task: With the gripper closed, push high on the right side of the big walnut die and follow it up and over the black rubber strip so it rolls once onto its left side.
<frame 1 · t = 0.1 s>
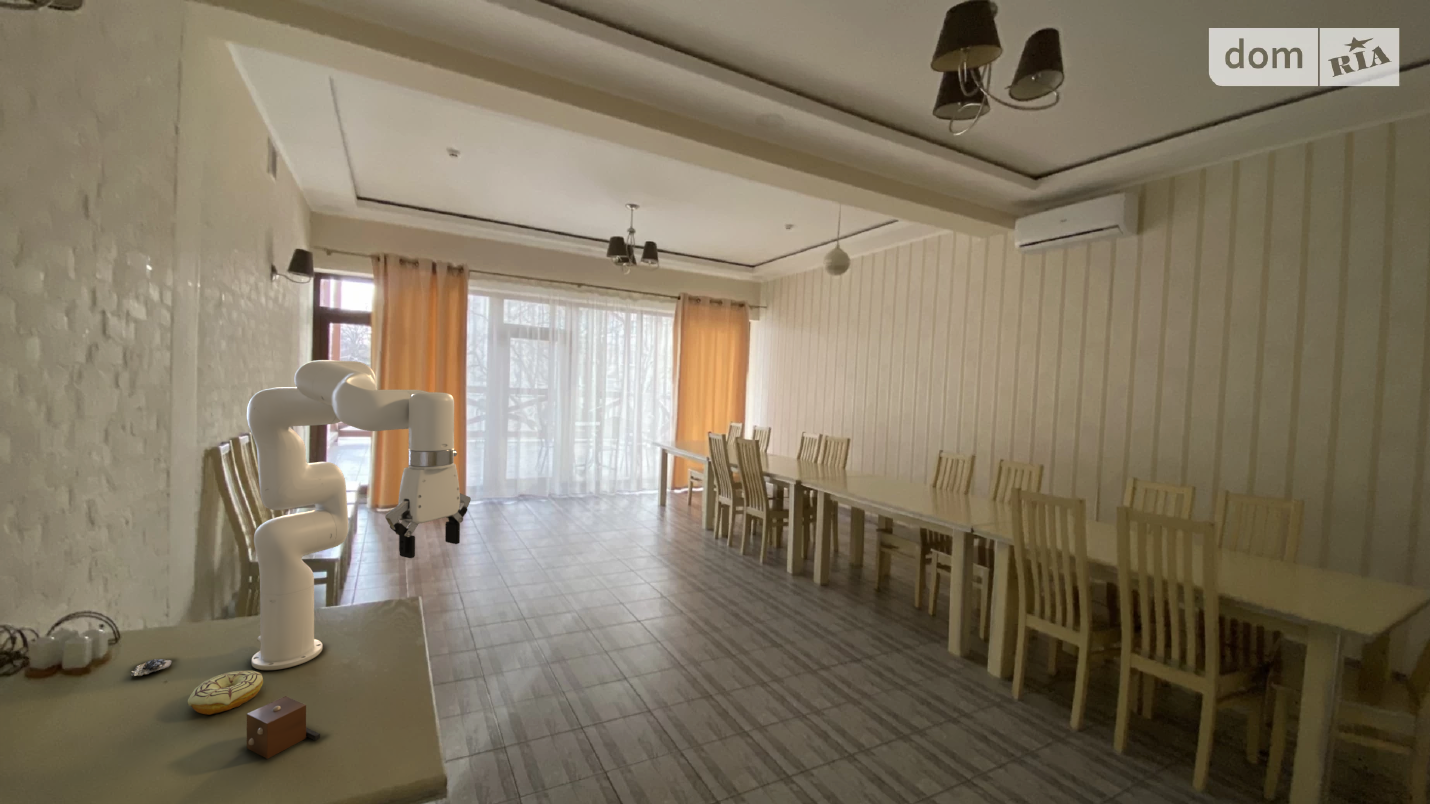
hand: (430, 549, 106), 31 cm above the table, tool pointing down, fingers open, 9 cm apart
decorated donut: (227, 701, 109), on the table
oyster shell: (150, 669, 119), on the table
die: (276, 743, 97), on the table
stop strip: (300, 731, 100), on the table
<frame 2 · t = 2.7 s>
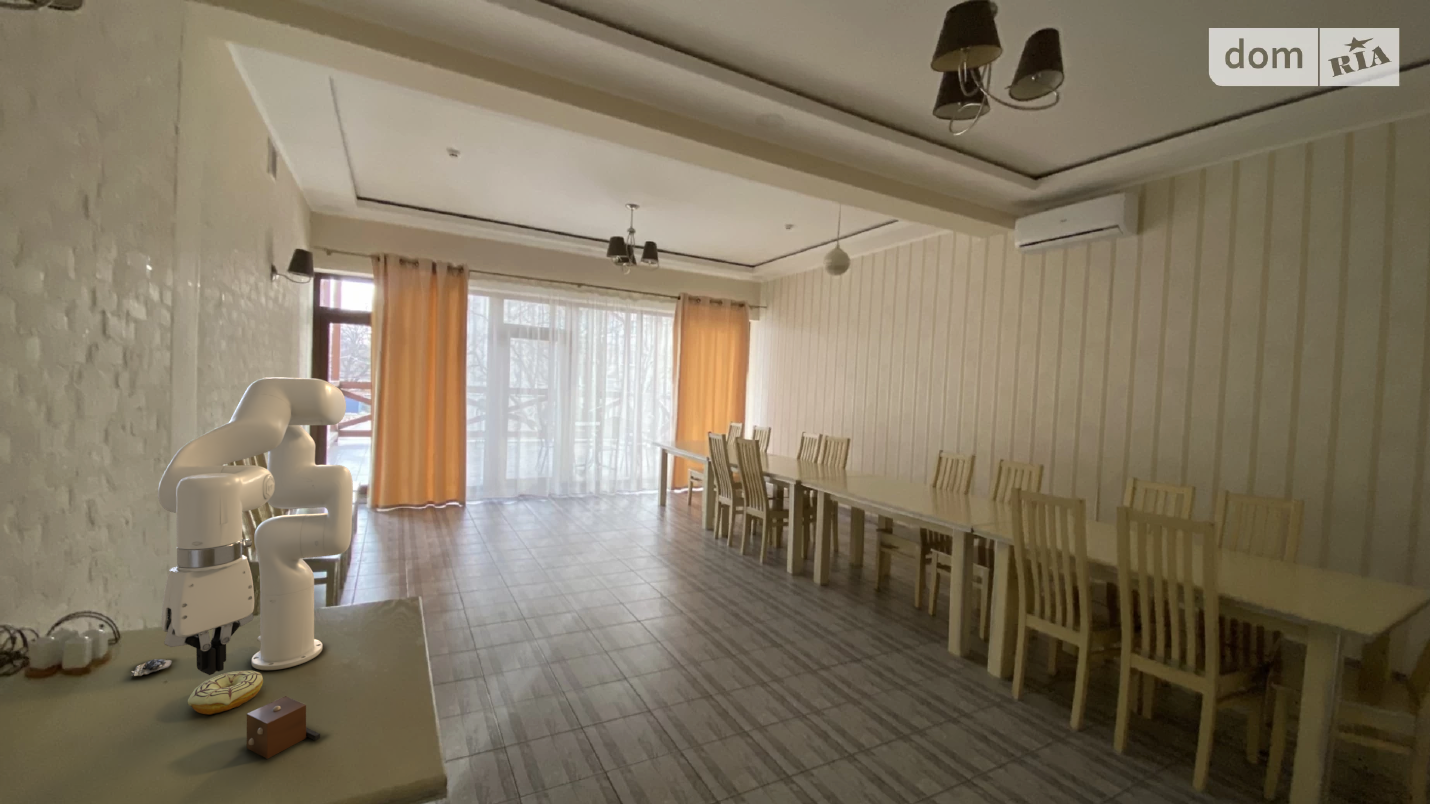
hand: (211, 670, 88), 17 cm above the table, tool pointing down, fingers closed
nothing on the table moved.
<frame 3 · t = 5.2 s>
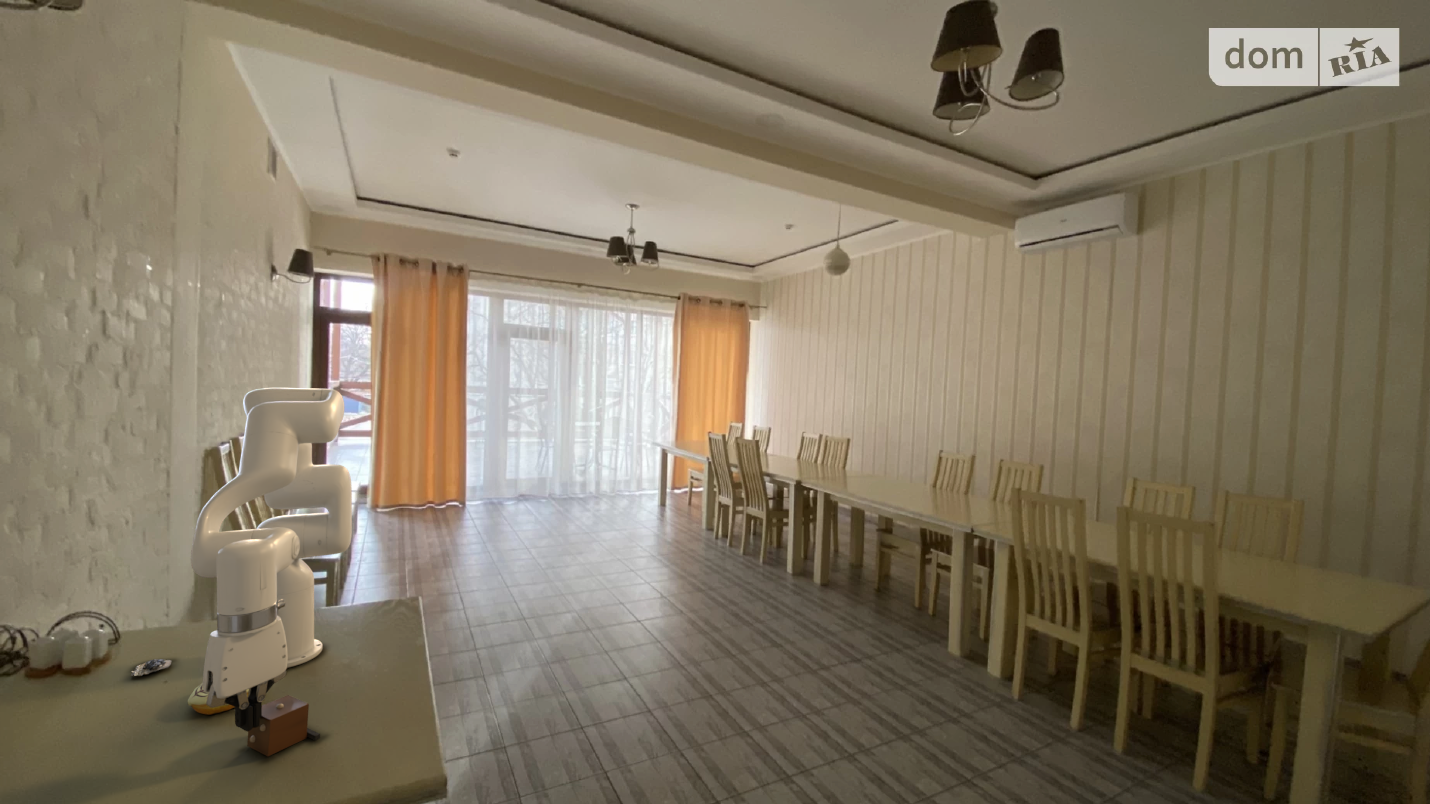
hand: (248, 726, 93), 5 cm above the table, tool pointing down, fingers closed
die: (277, 742, 97), on the table, touching gripper
everything else where it was.
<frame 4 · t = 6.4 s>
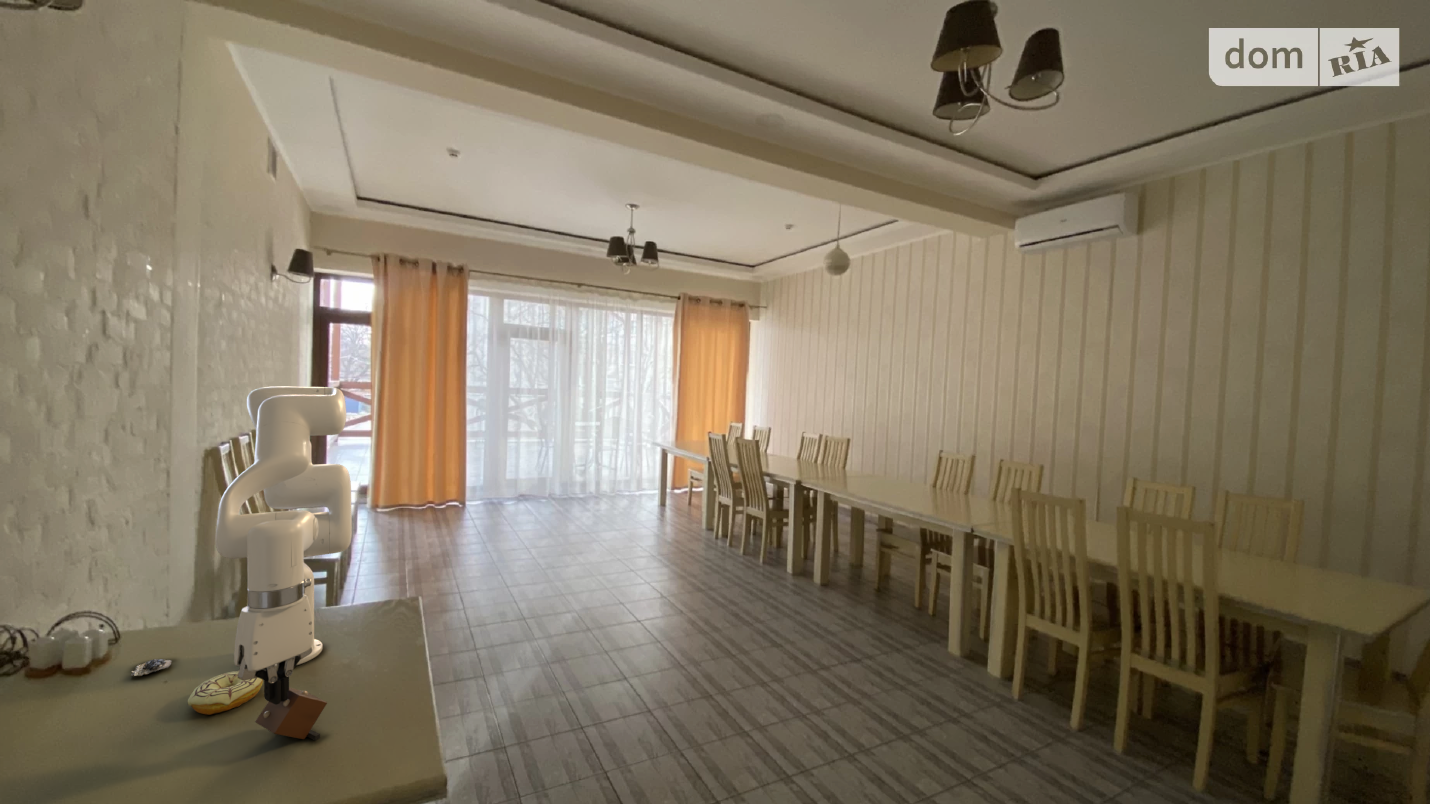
hand: (276, 700, 96), 8 cm above the table, tool pointing down, fingers closed
die: (279, 730, 97), point 2 cm above the table, tilted 39°, touching gripper, stop strip
everything else where it was.
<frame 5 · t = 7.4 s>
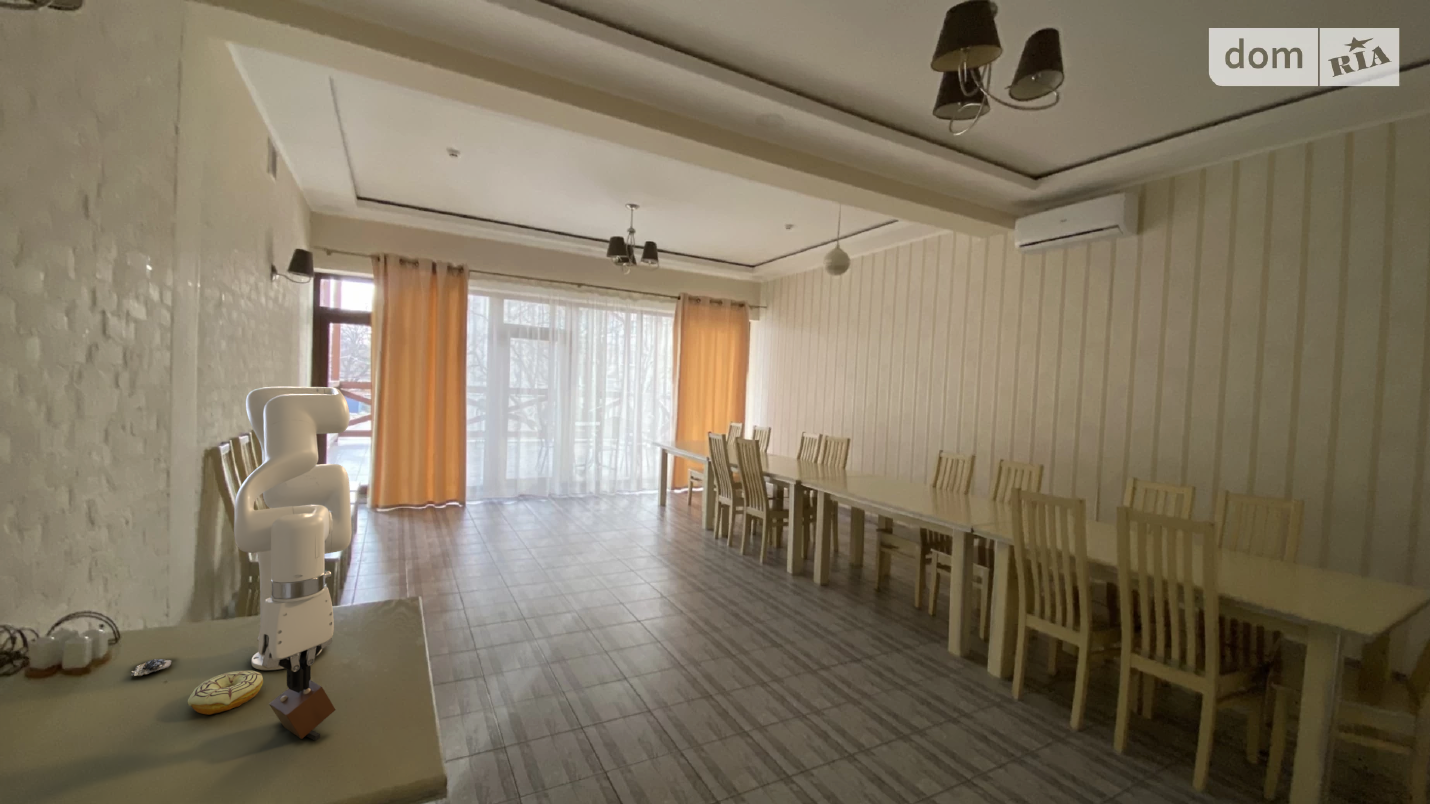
hand: (298, 688, 99), 8 cm above the table, tool pointing down, fingers closed
die: (285, 721, 98), point 3 cm above the table, tilted 67°, touching gripper, stop strip
everything else where it was.
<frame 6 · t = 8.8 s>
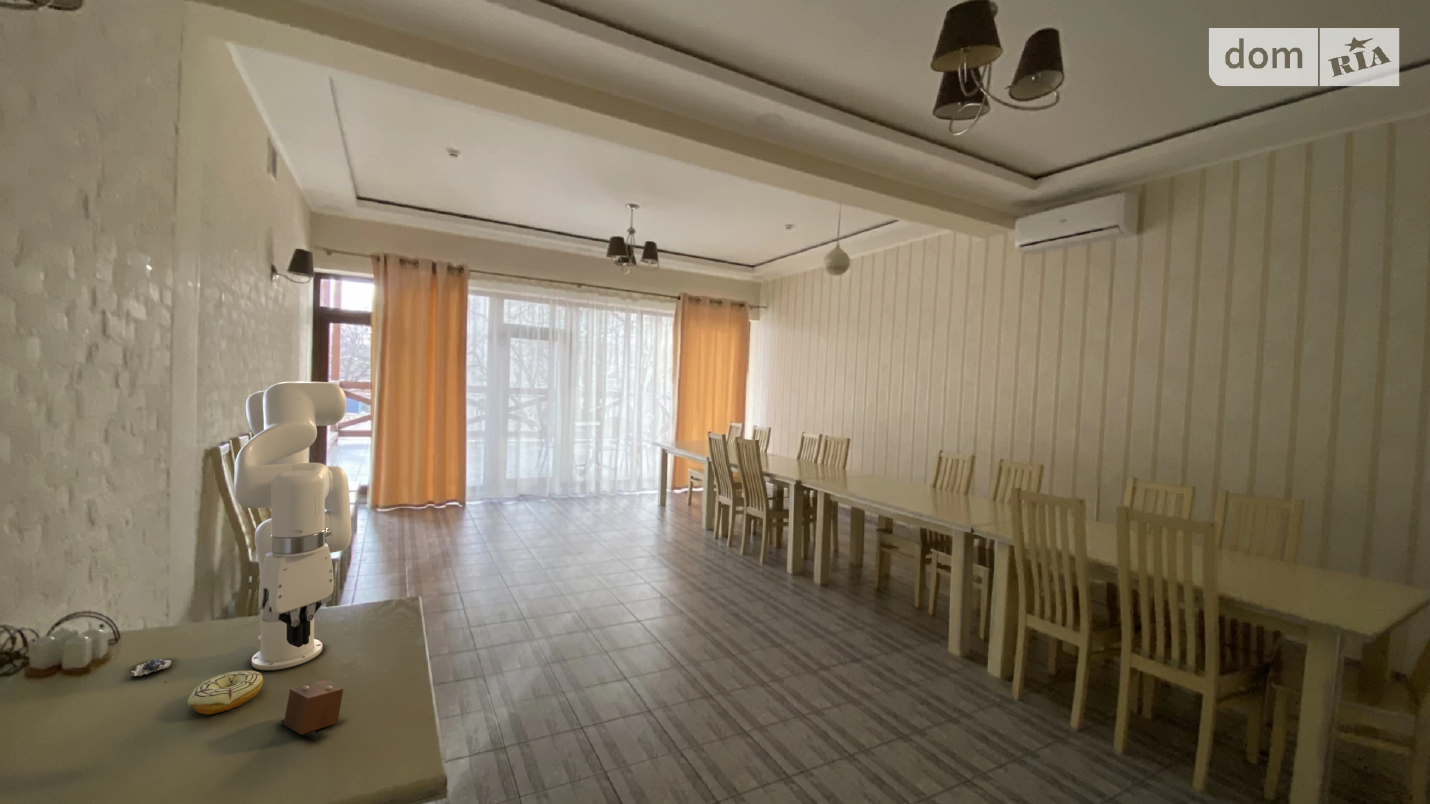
hand: (298, 643, 100), 16 cm above the table, tool pointing down, fingers closed
die: (295, 711, 99), point 4 cm above the table, tilted 101°, touching stop strip
everything else where it was.
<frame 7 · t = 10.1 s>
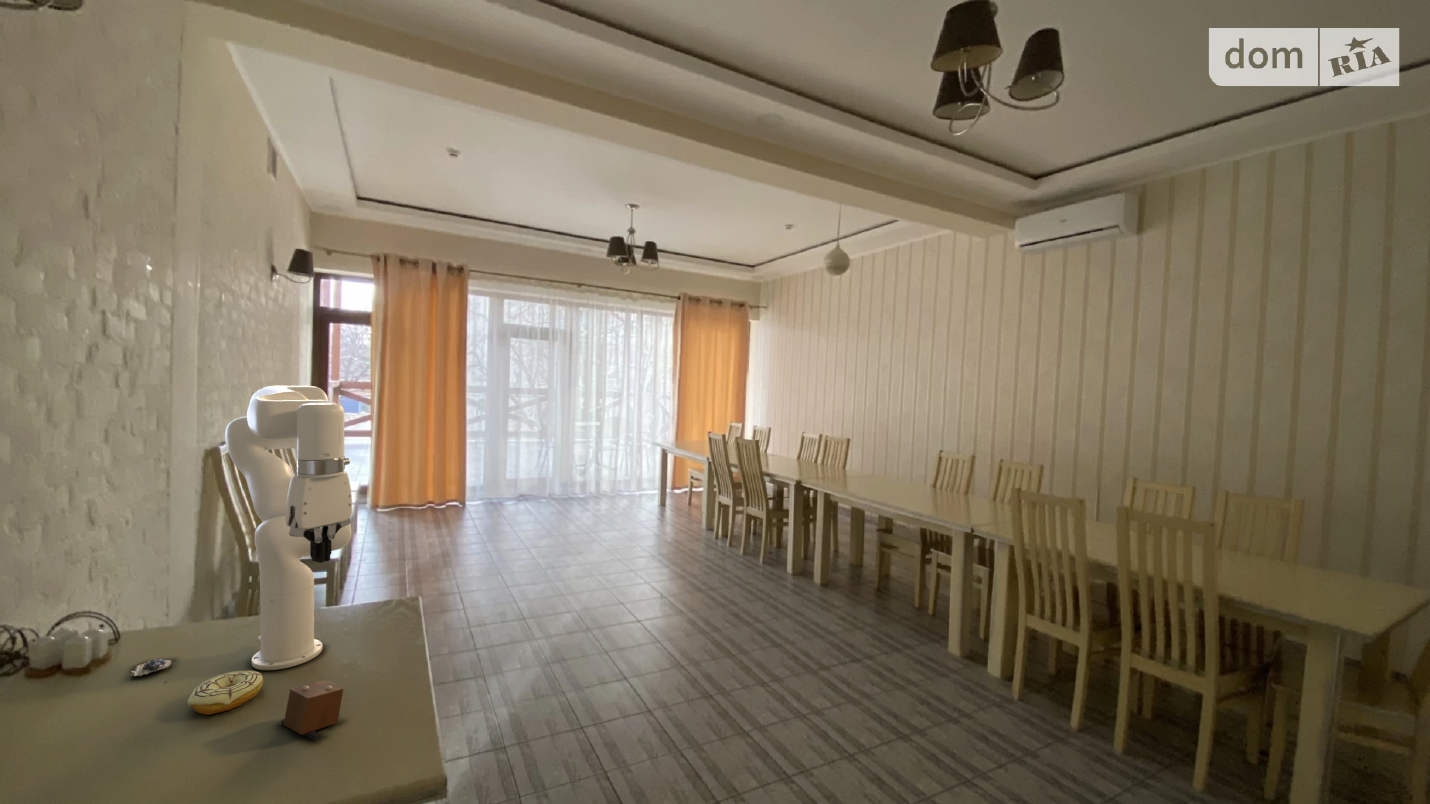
hand: (321, 560, 110), 27 cm above the table, tool pointing down, fingers closed
nothing on the table moved.
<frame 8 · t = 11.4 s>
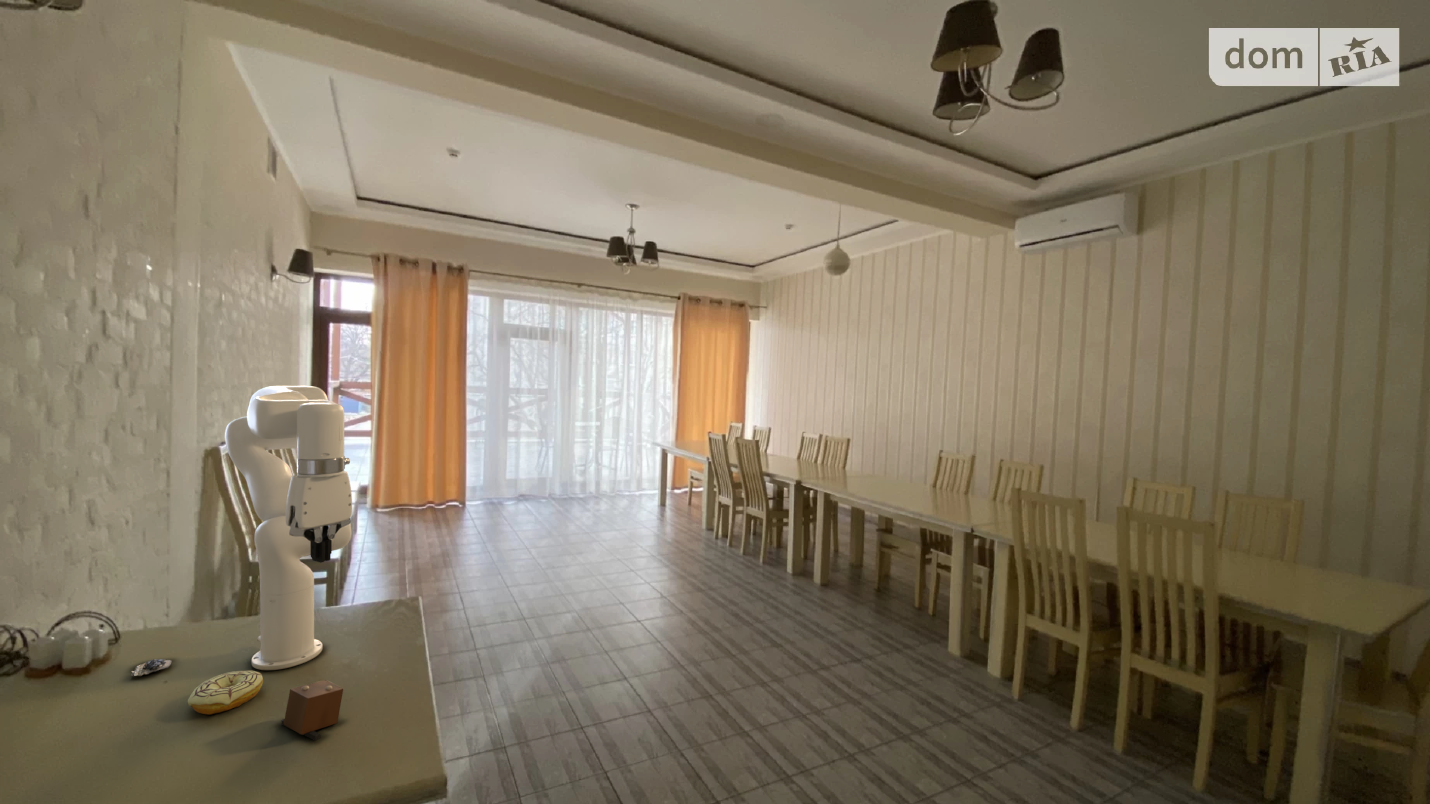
hand: (321, 560, 110), 27 cm above the table, tool pointing down, fingers closed
nothing on the table moved.
at the end: die tilted 101°; die inside the target area (1.1 cm from its centre), point 4.1 cm above the table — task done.
